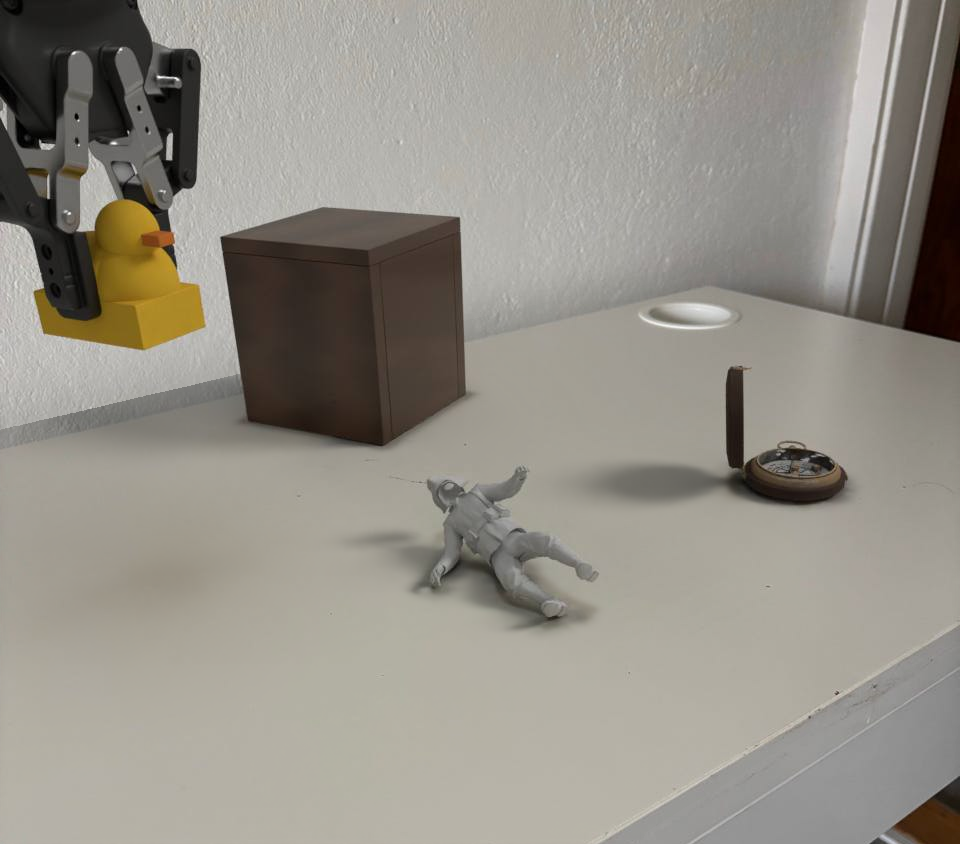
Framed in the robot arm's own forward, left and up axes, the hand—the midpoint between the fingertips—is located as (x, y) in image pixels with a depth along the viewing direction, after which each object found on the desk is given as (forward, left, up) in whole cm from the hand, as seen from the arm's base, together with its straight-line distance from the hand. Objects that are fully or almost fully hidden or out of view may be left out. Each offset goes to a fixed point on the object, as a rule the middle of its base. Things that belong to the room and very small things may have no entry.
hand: (118, 302), depth 48 cm
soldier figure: (+16, +8, -15) cm, 23 cm away
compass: (+26, +27, -15) cm, 40 cm away
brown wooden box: (-6, +27, -15) cm, 31 cm away
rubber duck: (0, 0, -1) cm, 1 cm away
